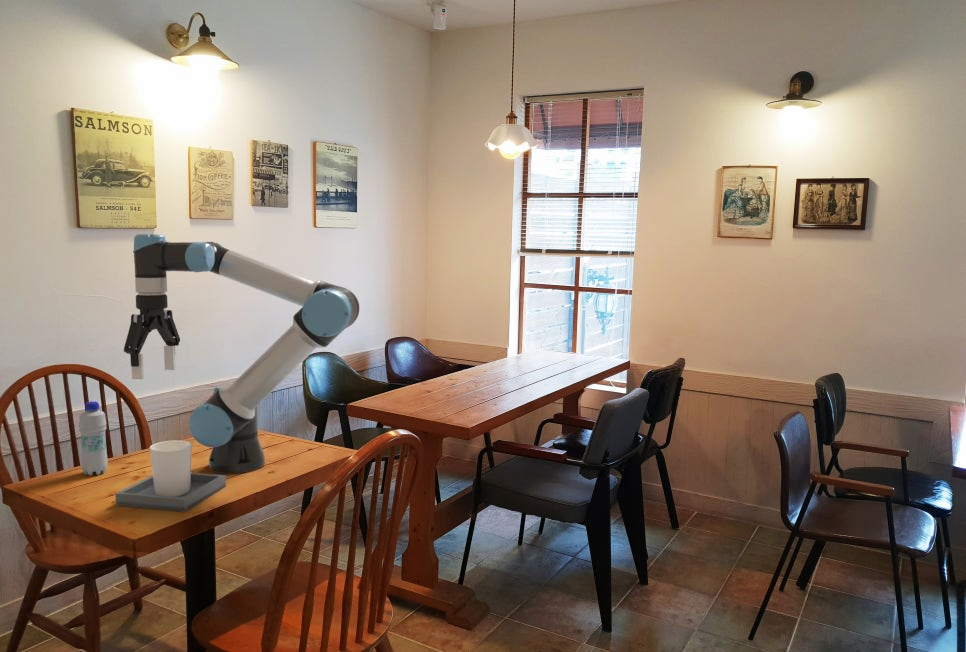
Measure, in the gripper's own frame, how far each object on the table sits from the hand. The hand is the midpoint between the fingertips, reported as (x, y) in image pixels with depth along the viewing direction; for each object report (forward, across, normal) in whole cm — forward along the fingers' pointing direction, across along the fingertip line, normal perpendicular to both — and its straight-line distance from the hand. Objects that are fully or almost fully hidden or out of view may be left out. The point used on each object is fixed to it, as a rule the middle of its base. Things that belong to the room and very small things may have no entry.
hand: (154, 374), depth 192 cm
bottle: (+29, -1, -20) cm, 35 cm away
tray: (+29, +10, +11) cm, 32 cm away
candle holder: (+28, +10, +11) cm, 32 cm away
